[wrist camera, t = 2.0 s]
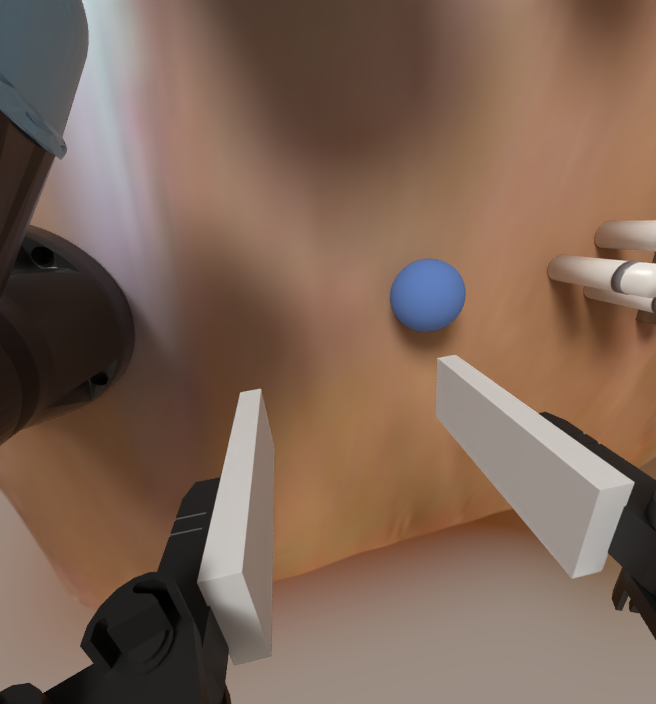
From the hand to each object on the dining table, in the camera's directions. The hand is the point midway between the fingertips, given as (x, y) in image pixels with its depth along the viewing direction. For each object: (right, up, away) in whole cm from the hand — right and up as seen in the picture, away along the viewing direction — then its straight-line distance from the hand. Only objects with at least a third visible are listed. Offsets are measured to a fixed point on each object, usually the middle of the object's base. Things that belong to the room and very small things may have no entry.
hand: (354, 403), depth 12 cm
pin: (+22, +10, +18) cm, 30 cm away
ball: (+7, +7, +14) cm, 17 cm away
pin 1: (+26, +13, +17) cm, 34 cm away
